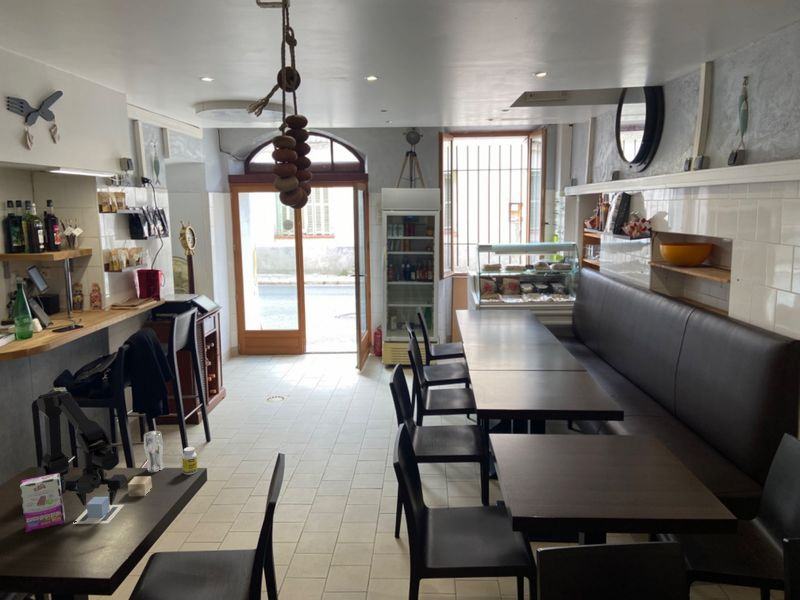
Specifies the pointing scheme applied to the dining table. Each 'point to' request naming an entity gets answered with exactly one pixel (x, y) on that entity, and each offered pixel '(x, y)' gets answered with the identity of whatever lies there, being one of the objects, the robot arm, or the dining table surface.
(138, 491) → the oak block
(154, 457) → the beer glass
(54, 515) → the candy bar box
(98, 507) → the blue cube
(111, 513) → the letter board
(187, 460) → the supplement bottle
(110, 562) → the dining table surface
